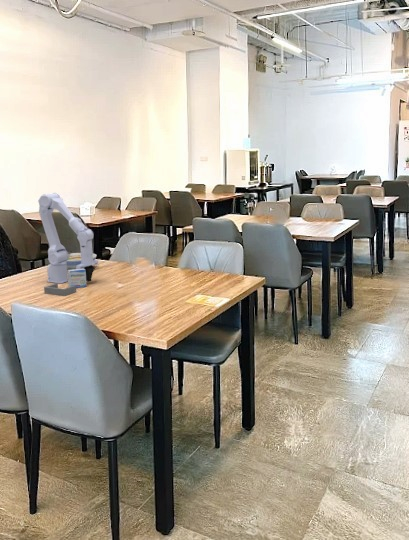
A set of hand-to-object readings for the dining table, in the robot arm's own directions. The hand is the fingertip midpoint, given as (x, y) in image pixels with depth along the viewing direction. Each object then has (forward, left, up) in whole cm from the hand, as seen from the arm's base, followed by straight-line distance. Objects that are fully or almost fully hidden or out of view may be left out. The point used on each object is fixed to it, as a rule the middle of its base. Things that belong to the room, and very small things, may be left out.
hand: (88, 281), depth 261 cm
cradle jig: (0, -20, -1) cm, 20 cm away
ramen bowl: (-28, +25, -1) cm, 37 cm away
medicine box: (0, -8, -1) cm, 8 cm away
